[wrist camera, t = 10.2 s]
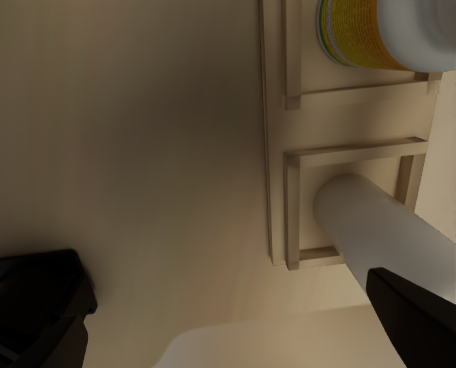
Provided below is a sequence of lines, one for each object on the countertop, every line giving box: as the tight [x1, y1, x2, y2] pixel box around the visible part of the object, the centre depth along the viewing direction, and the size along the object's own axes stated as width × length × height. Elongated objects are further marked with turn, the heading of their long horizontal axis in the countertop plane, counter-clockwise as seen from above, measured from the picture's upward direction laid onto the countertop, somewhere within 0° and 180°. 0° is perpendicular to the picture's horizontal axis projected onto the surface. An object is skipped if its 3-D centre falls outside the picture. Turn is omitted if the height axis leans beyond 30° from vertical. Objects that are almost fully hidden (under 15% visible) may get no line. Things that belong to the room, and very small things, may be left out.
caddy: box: [259, 0, 443, 270], centre depth 18 cm, size 11×22×2 cm, turn 6°
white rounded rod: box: [313, 173, 456, 304], centre depth 16 cm, size 5×5×10 cm
